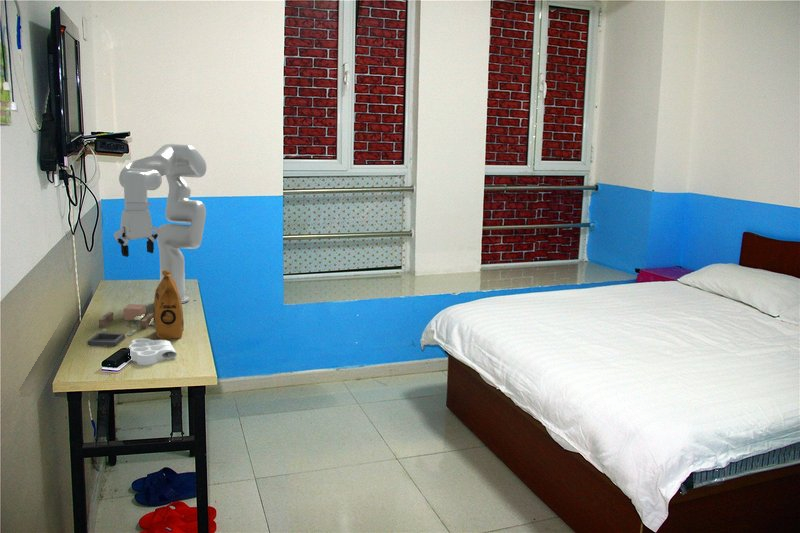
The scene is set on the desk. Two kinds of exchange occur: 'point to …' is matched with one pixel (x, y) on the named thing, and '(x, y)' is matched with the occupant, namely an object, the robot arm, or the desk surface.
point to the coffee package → (168, 309)
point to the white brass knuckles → (151, 351)
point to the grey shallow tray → (106, 339)
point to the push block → (133, 311)
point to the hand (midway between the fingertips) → (138, 254)
